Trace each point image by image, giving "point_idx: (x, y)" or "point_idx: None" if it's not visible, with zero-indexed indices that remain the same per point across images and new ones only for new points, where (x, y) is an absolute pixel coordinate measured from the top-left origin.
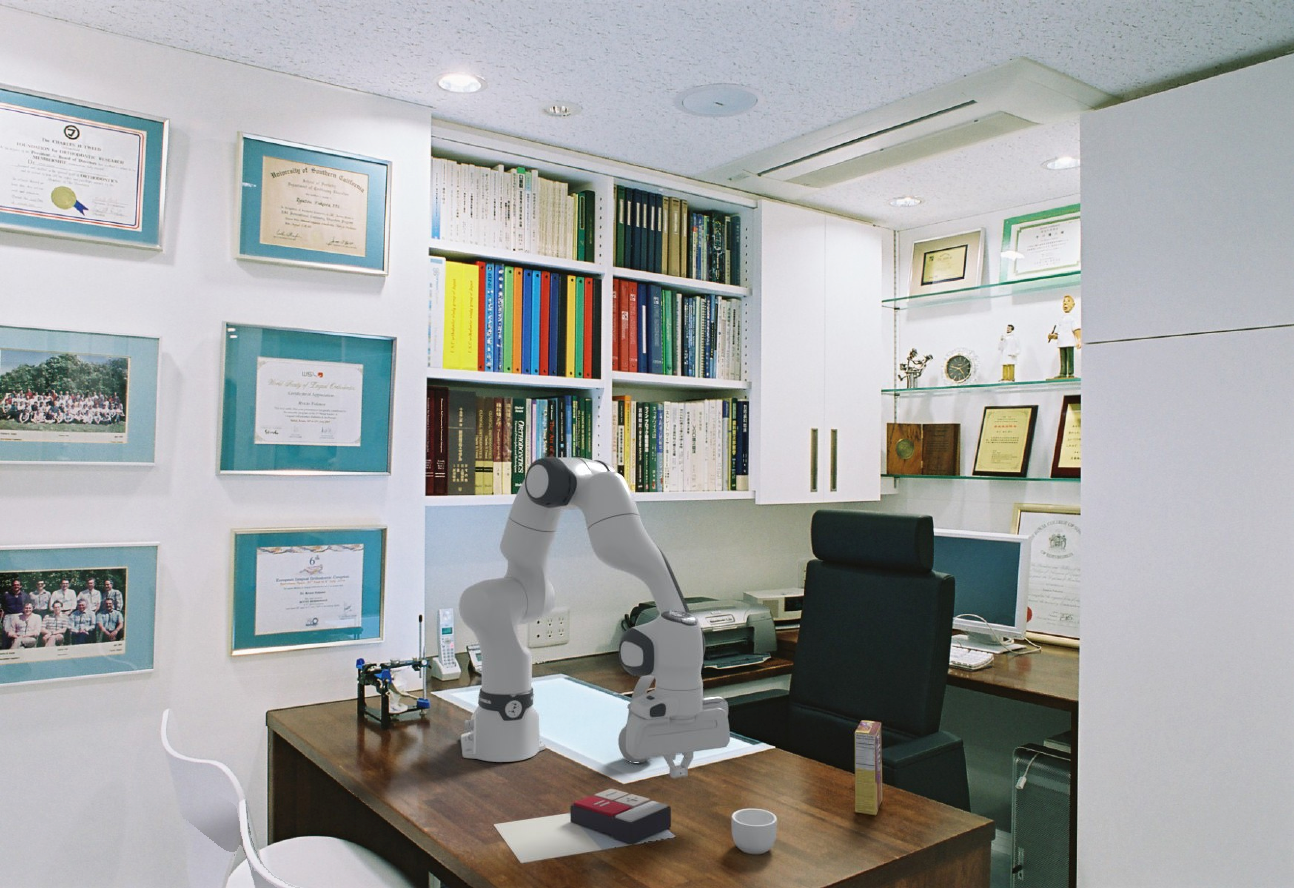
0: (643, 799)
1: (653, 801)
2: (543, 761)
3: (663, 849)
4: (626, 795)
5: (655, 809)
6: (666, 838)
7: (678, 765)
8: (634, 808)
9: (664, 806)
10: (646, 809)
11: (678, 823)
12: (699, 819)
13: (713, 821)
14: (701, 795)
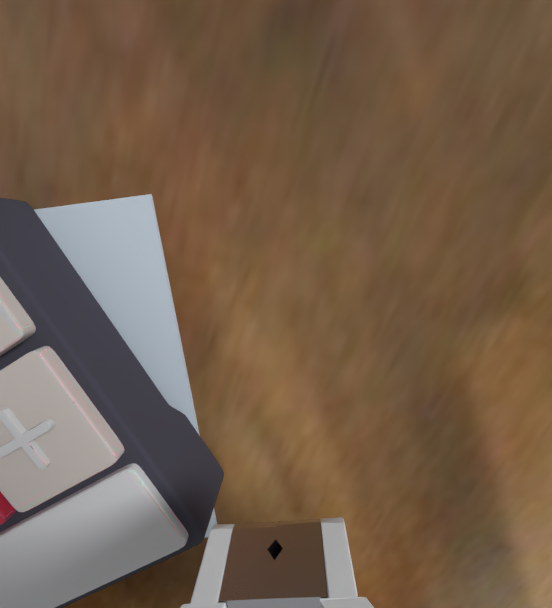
0: (82, 458)
1: (132, 481)
2: None
3: (155, 593)
4: (13, 345)
5: (115, 576)
6: None
7: (292, 604)
8: (25, 531)
9: (167, 553)
10: (76, 561)
11: (265, 441)
12: (359, 429)
13: (402, 458)
14: (505, 168)
